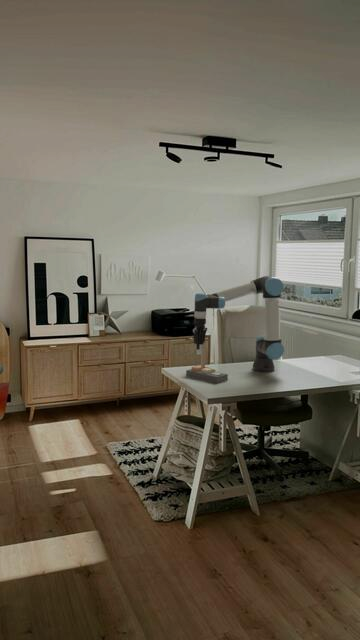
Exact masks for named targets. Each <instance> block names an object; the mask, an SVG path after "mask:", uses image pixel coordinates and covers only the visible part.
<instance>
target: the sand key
mask: <svg viewBox="0 0 360 640" xmlns="http://www.w3.org/2000/svg"><path fill="white" fill-rule="evenodd" d="M209 368H210V367H208V368H204V369H201V372H202V373H206V374H209V373H212V369H213V368H211V369H209Z"/></svg>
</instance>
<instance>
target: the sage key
mask: <svg viewBox="0 0 360 640" xmlns="http://www.w3.org/2000/svg"><path fill="white" fill-rule="evenodd" d="M217 372H218V371H215V373H211V375H215V376H219V375H222V373H223V372H220V373H217Z"/></svg>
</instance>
